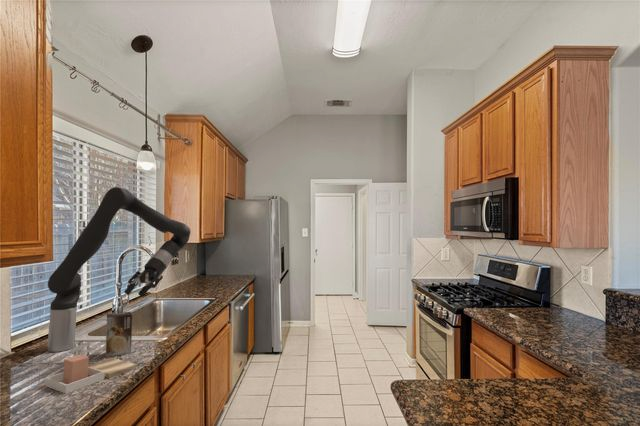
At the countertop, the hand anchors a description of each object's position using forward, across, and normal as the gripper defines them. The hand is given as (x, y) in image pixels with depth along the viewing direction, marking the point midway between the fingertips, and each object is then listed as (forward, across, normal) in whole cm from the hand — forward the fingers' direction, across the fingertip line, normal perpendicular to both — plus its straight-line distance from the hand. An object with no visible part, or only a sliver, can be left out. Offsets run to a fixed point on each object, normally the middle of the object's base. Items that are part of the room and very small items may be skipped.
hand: (133, 294), depth 133 cm
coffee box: (+16, -14, +21) cm, 30 cm away
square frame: (+32, 0, +4) cm, 33 cm away
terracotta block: (+32, 0, +4) cm, 33 cm away
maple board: (+24, 0, +13) cm, 27 cm away
